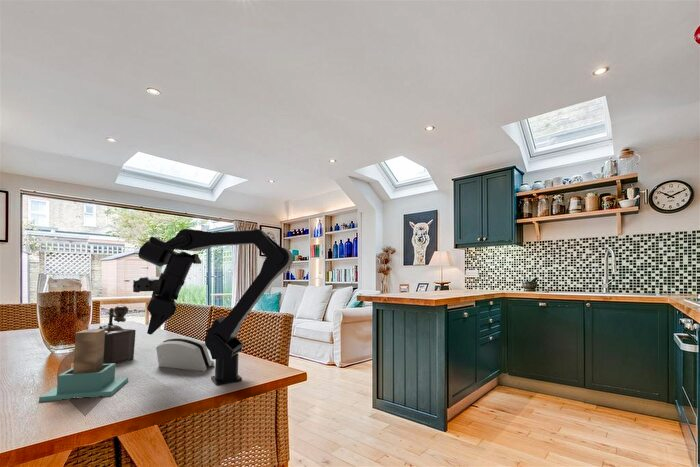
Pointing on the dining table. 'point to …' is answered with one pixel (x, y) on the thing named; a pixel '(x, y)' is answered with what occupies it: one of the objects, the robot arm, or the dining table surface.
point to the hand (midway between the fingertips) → (150, 328)
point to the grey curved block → (183, 354)
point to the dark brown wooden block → (118, 338)
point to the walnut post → (89, 351)
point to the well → (85, 384)
